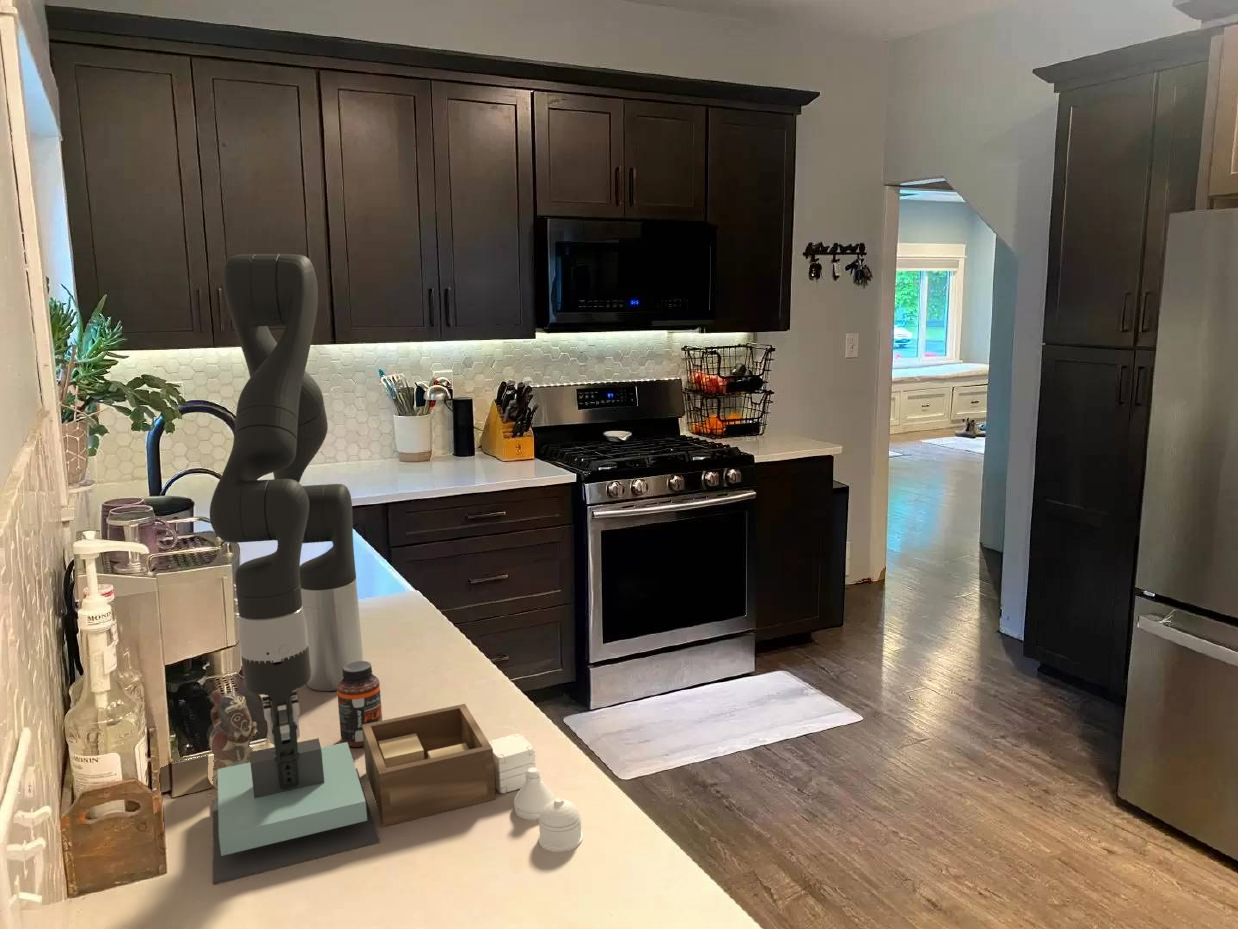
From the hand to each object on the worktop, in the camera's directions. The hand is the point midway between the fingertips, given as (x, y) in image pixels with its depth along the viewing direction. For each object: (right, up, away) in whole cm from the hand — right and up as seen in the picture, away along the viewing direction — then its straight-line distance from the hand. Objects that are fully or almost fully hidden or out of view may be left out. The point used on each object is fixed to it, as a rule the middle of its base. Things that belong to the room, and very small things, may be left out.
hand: (288, 779), depth 113 cm
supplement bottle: (+3, -2, +22) cm, 22 cm away
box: (+15, -4, +9) cm, 18 cm away
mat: (0, -6, +1) cm, 6 cm away
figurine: (-11, -4, +12) cm, 17 cm away
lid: (0, -3, +1) cm, 3 cm away
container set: (+30, -5, +3) cm, 30 cm away
